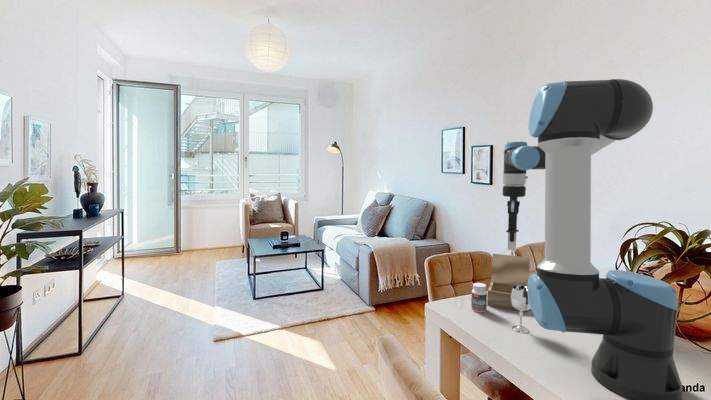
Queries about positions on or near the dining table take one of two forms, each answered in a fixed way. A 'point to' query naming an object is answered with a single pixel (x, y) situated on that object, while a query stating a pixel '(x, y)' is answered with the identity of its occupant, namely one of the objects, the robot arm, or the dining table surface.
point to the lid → (510, 269)
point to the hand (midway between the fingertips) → (511, 249)
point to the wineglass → (520, 305)
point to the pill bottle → (479, 298)
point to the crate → (500, 295)
